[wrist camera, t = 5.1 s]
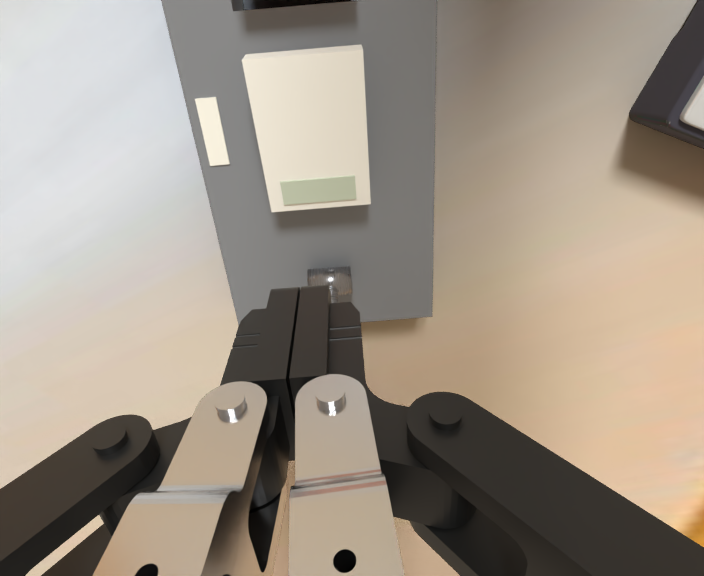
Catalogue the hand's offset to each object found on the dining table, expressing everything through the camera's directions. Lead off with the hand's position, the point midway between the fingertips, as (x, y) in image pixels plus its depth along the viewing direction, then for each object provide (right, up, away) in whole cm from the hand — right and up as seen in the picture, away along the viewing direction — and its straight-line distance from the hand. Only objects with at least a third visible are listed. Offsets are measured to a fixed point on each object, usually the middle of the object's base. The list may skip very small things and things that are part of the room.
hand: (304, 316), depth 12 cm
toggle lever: (0, +2, +15) cm, 15 cm away
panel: (-1, +10, +13) cm, 17 cm away
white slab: (-1, +8, +10) cm, 13 cm away
